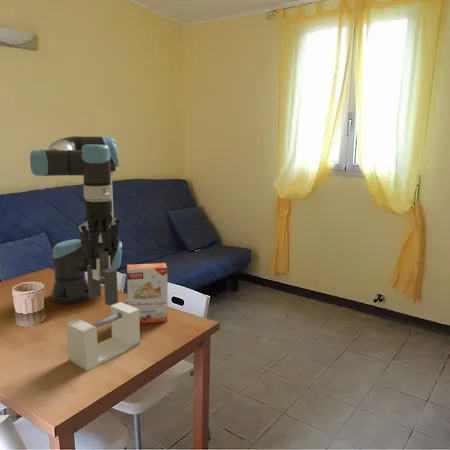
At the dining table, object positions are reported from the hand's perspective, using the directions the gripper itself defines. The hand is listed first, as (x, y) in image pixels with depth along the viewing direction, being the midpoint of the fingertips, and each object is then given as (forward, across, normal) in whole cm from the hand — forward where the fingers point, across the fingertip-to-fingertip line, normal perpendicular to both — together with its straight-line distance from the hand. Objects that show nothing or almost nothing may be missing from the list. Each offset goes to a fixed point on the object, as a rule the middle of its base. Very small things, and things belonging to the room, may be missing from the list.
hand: (101, 277), depth 123 cm
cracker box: (+25, +24, +6) cm, 35 cm away
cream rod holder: (+24, 0, 0) cm, 24 cm away
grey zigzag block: (+7, 0, 0) cm, 7 cm away
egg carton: (+25, +29, +17) cm, 42 cm away
